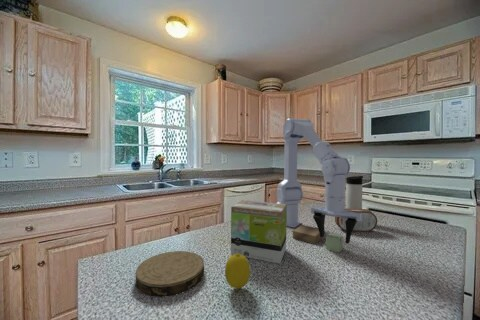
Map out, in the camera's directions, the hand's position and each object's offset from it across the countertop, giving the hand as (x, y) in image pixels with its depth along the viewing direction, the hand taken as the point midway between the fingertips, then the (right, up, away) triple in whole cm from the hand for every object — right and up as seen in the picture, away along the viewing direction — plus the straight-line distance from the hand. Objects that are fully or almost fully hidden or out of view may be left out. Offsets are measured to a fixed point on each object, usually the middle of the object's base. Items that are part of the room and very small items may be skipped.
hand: (334, 239), depth 70 cm
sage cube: (0, -3, 0) cm, 3 cm away
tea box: (-24, -3, -3) cm, 24 cm away
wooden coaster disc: (-47, -4, -15) cm, 49 cm away
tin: (+15, -3, +16) cm, 22 cm away
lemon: (-30, -4, -21) cm, 37 cm away
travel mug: (+20, -2, +28) cm, 34 cm away
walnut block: (-5, -3, +9) cm, 11 cm away
